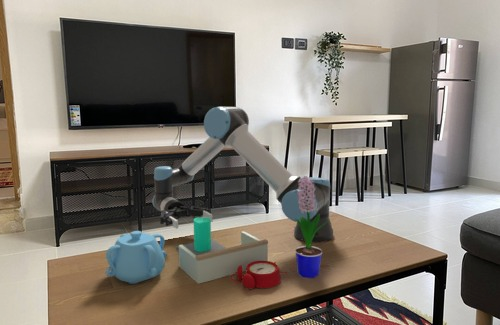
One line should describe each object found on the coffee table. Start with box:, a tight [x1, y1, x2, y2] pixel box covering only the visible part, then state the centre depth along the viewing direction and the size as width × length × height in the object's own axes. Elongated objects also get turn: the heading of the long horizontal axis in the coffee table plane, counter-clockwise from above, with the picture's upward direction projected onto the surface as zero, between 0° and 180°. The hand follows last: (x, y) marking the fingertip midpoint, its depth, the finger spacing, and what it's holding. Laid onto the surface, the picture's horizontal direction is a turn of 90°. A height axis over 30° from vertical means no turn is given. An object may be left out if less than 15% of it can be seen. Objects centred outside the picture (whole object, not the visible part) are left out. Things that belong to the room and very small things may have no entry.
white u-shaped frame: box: [178, 231, 269, 285], centre depth 120 cm, size 24×14×8 cm, turn 123°
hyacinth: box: [294, 175, 328, 279], centre depth 112 cm, size 9×10×30 cm
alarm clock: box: [230, 260, 288, 290], centre depth 109 cm, size 11×6×15 cm
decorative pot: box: [105, 230, 167, 285], centre depth 113 cm, size 16×16×14 cm
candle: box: [193, 216, 212, 251], centre depth 132 cm, size 6×6×12 cm
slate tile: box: [176, 238, 227, 256], centre depth 133 cm, size 14×14×1 cm
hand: (194, 221), depth 136 cm, fingers open, 13 cm apart
